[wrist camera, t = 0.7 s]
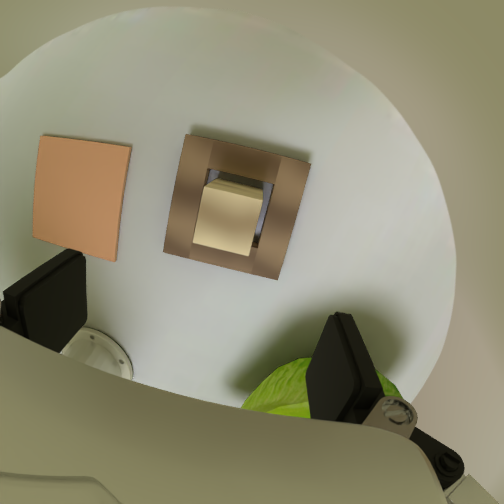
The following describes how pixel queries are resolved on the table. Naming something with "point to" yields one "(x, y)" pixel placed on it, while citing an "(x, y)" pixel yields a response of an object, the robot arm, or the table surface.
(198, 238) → the maple block
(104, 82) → the table surface
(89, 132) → the table surface
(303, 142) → the table surface
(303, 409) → the lettuce
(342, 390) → the robot arm
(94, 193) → the pad
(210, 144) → the pocket block
